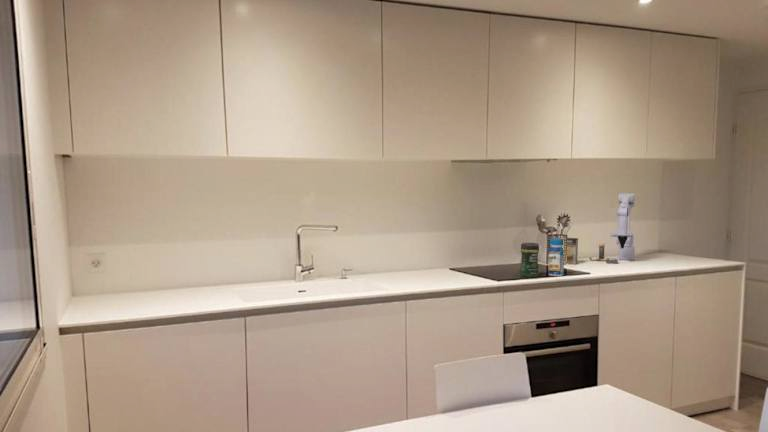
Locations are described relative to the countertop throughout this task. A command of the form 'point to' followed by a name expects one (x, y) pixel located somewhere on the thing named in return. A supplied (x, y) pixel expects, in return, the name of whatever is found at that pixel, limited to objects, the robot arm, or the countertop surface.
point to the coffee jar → (529, 260)
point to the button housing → (612, 261)
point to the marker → (601, 251)
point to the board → (597, 259)
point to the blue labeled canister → (556, 258)
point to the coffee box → (572, 250)
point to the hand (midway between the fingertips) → (622, 248)
